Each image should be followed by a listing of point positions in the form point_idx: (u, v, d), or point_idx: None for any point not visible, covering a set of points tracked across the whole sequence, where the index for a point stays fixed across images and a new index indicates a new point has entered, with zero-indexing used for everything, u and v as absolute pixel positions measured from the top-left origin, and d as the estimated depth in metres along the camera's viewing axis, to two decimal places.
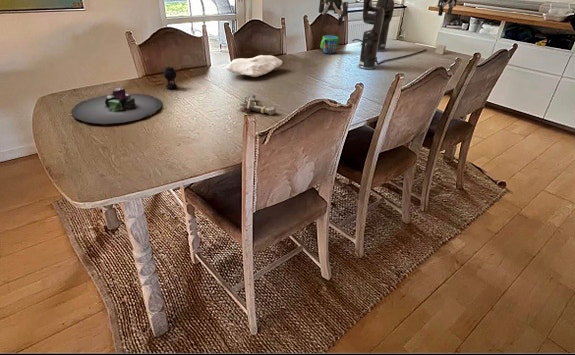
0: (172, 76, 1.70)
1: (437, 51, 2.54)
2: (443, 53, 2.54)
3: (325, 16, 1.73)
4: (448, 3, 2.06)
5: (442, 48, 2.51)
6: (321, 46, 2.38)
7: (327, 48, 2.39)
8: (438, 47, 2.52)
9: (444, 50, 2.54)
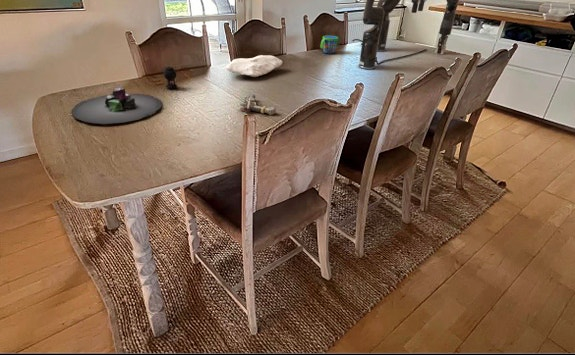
0: (172, 76, 1.70)
1: None
2: (443, 53, 2.54)
3: (421, 4, 1.72)
4: None
5: (442, 48, 2.51)
6: (321, 46, 2.38)
7: (327, 48, 2.39)
8: None
9: (444, 50, 2.54)
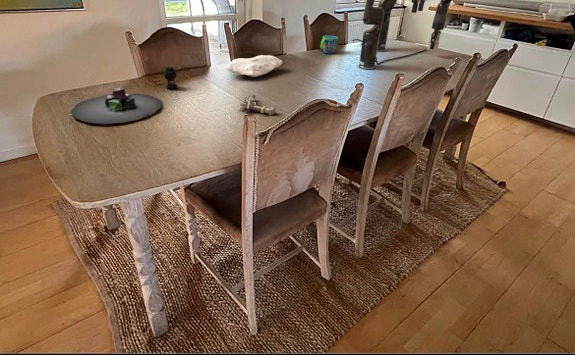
0: (172, 76, 1.70)
1: None
2: (436, 49, 2.42)
3: (421, 4, 1.72)
4: None
5: (435, 44, 2.38)
6: (321, 46, 2.38)
7: (327, 48, 2.39)
8: None
9: (437, 46, 2.41)
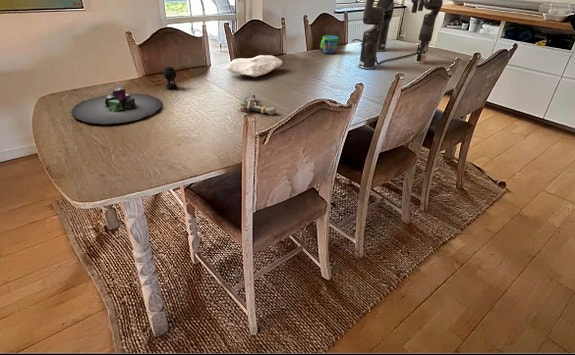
0: (172, 76, 1.70)
1: None
2: (423, 62, 2.31)
3: (421, 4, 1.72)
4: None
5: (422, 57, 2.28)
6: (321, 46, 2.38)
7: (327, 48, 2.39)
8: None
9: (424, 59, 2.31)
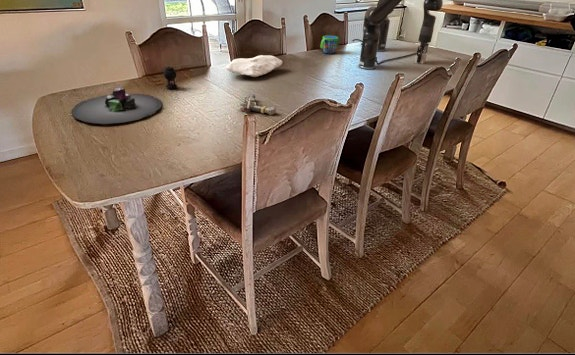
0: (172, 76, 1.70)
1: None
2: (423, 62, 2.31)
3: None
4: None
5: (422, 57, 2.28)
6: (321, 46, 2.38)
7: (327, 48, 2.39)
8: None
9: (424, 59, 2.31)
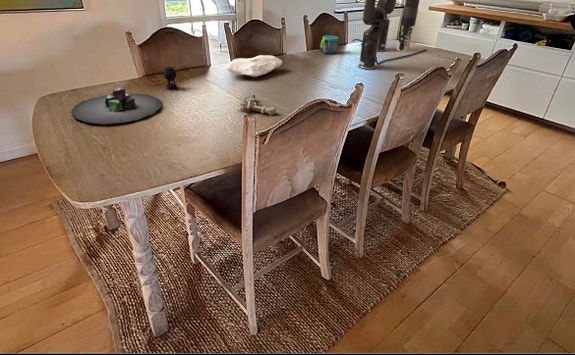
0: (172, 76, 1.70)
1: None
2: None
3: None
4: None
5: (405, 43, 1.98)
6: (321, 46, 2.38)
7: (327, 48, 2.39)
8: None
9: (408, 46, 2.01)
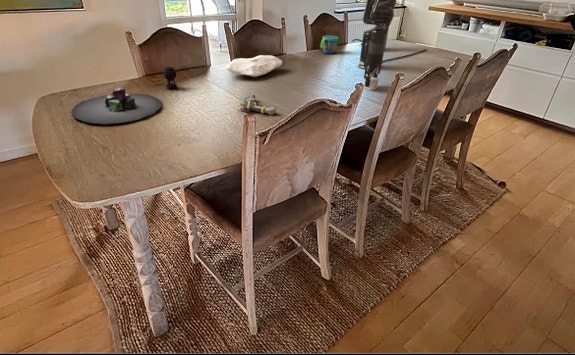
0: (172, 76, 1.70)
1: None
2: (375, 88, 1.85)
3: (374, 77, 1.86)
4: None
5: (372, 82, 1.81)
6: (321, 46, 2.38)
7: (327, 48, 2.39)
8: None
9: (376, 84, 1.84)
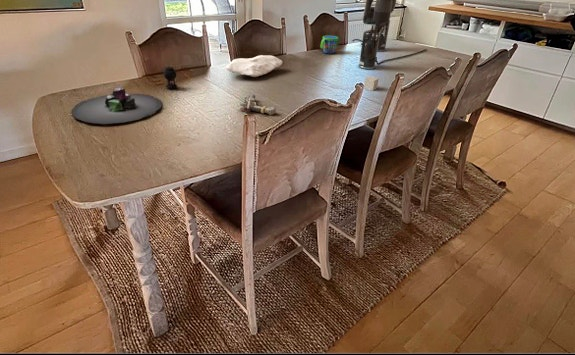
0: (172, 76, 1.70)
1: (366, 86, 1.84)
2: (375, 88, 1.85)
3: (381, 38, 1.76)
4: None
5: (372, 82, 1.81)
6: (321, 46, 2.38)
7: (327, 48, 2.39)
8: (367, 81, 1.83)
9: (376, 84, 1.84)
